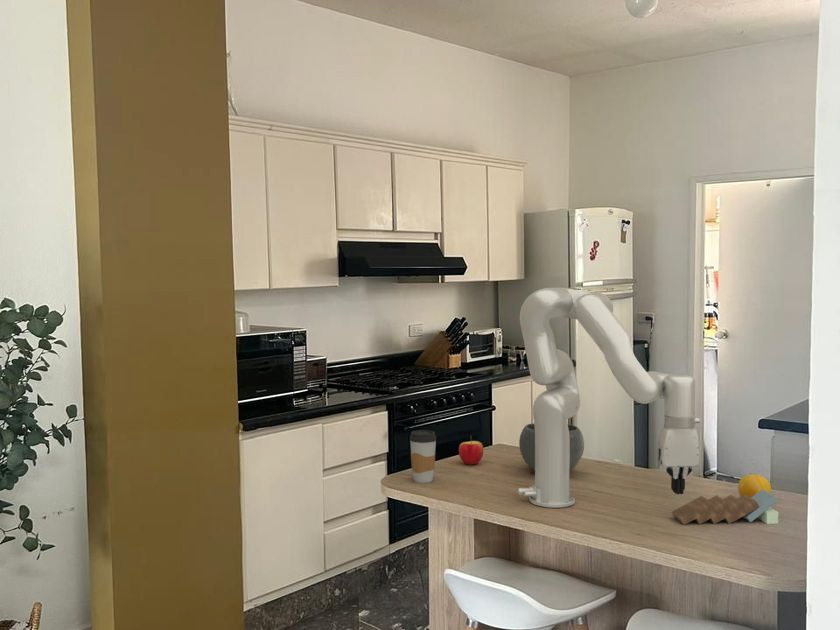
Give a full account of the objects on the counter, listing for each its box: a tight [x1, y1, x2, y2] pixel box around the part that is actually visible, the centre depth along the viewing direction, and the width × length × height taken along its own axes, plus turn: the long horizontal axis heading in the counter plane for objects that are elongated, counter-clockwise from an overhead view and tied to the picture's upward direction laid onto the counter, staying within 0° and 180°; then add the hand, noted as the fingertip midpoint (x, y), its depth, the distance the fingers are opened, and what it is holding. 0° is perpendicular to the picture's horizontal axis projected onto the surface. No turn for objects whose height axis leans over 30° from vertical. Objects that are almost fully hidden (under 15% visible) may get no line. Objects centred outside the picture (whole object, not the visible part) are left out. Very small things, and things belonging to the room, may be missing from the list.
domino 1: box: [671, 495, 715, 526], centre depth 207 cm, size 2×6×9 cm
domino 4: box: [722, 495, 759, 525], centre depth 208 cm, size 2×6×9 cm
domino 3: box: [708, 494, 745, 525], centre depth 208 cm, size 2×6×9 cm
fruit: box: [737, 473, 772, 498], centre depth 223 cm, size 9×8×8 cm
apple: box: [458, 435, 484, 465], centre depth 268 cm, size 8×8×10 cm
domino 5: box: [742, 489, 779, 523], centre depth 209 cm, size 2×6×9 cm
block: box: [756, 507, 779, 525], centre depth 209 cm, size 3×8×3 cm, turn 5°
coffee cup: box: [409, 429, 437, 484], centre depth 247 cm, size 8×8×15 cm
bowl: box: [518, 422, 585, 472], centre depth 256 cm, size 20×20×15 cm
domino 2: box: [693, 495, 730, 525], centre depth 207 cm, size 2×6×9 cm
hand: (677, 492), depth 206 cm, fingers closed
